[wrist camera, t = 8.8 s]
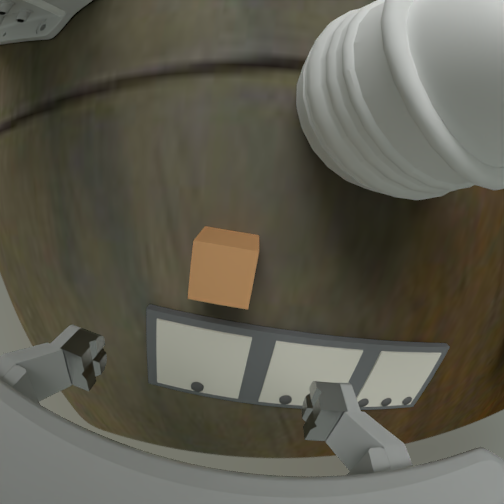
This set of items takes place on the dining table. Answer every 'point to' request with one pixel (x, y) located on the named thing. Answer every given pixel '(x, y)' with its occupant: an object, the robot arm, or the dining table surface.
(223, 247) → the block
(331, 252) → the dining table surface
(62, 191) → the dining table surface
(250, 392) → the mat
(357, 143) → the honey pot
